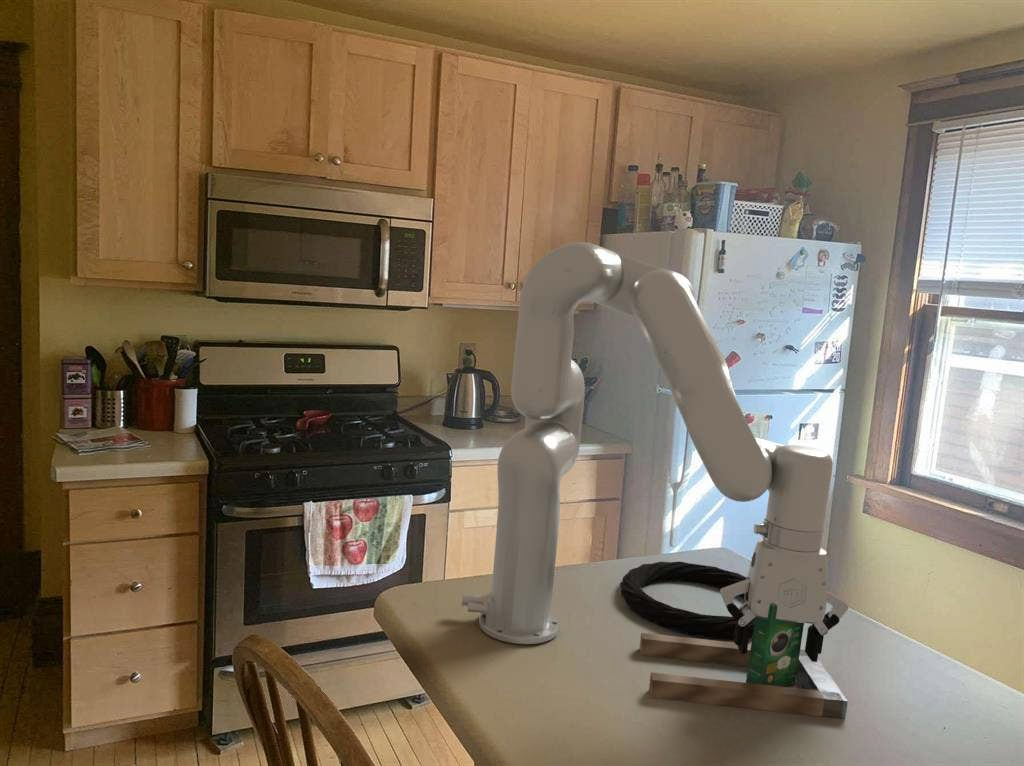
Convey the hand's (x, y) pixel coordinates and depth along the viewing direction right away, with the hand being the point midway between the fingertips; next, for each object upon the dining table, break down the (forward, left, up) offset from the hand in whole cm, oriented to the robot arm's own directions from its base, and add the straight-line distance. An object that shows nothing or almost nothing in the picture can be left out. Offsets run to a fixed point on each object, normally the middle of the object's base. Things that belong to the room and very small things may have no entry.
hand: (775, 653), depth 107 cm
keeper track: (-5, 0, -5) cm, 7 cm away
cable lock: (-4, +26, -5) cm, 27 cm away
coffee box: (0, 0, -5) cm, 5 cm away
